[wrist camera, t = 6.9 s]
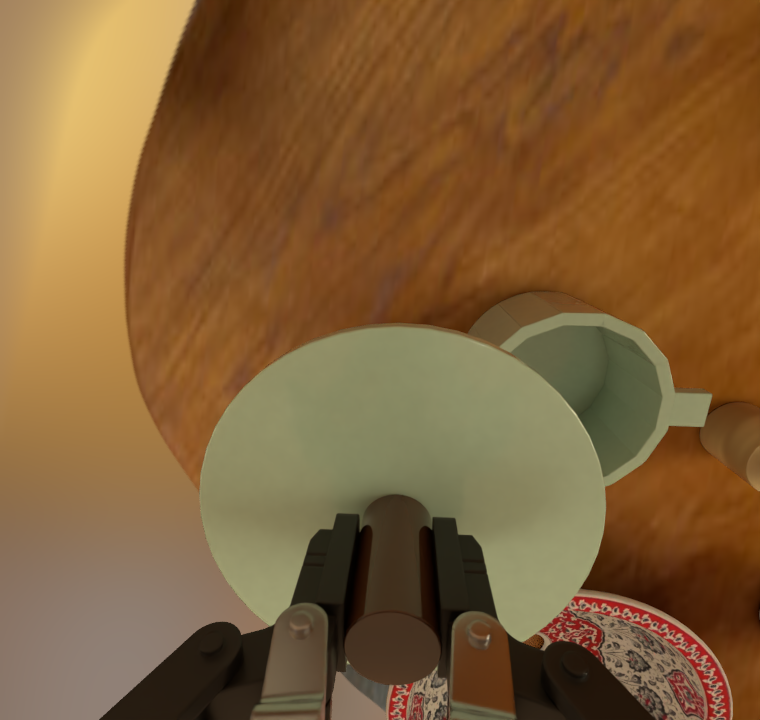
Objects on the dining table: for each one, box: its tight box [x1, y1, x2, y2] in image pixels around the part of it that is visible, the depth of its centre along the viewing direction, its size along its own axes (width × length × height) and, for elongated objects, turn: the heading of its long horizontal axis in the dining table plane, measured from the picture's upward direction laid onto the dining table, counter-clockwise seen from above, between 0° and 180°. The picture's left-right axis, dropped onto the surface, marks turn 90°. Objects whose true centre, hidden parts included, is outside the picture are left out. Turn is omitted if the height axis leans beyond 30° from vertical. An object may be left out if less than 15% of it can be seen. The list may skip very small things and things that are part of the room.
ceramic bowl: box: [386, 588, 733, 720], centre depth 42 cm, size 29×29×8 cm
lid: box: [199, 323, 606, 685], centre depth 13 cm, size 14×14×6 cm
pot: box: [468, 291, 712, 486], centre depth 32 cm, size 13×18×8 cm
